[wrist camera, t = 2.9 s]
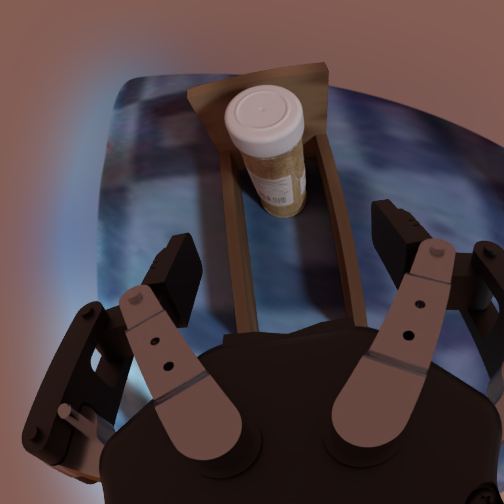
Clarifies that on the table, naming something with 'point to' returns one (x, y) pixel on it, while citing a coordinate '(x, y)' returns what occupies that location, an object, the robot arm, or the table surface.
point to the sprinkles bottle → (271, 145)
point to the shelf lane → (231, 161)
